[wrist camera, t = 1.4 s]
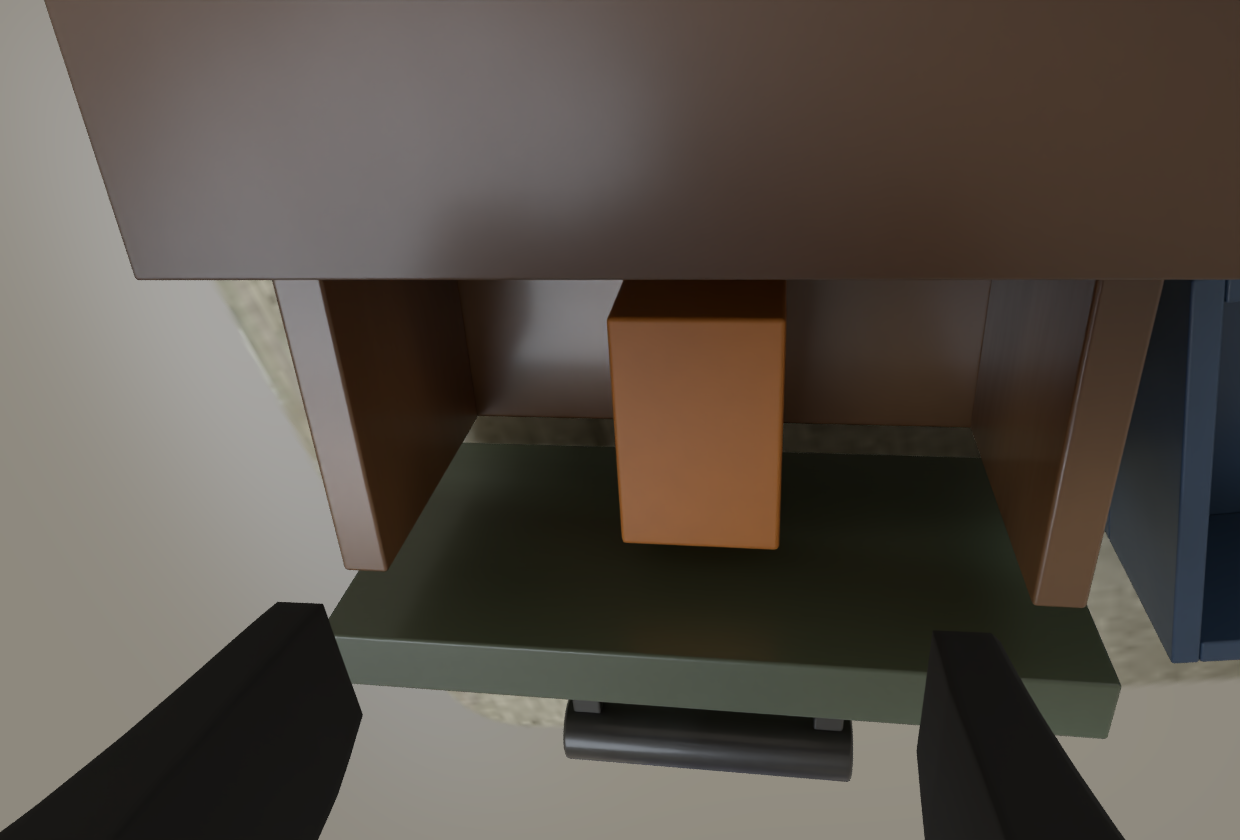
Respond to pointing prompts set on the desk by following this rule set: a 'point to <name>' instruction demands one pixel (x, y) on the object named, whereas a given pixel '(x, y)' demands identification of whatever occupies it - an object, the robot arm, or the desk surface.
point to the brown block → (699, 410)
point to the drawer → (721, 576)
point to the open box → (1186, 474)
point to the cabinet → (664, 138)
